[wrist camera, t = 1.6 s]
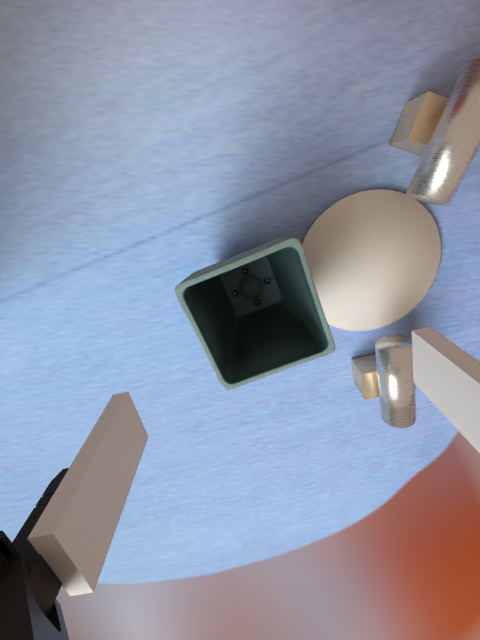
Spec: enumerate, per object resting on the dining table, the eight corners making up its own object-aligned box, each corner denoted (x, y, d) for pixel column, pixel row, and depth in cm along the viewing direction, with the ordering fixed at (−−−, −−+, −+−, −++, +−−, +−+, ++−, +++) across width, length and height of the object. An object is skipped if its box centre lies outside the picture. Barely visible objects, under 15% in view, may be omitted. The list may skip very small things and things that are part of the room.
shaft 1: (347, 329, 32) (371, 358, 26) (397, 317, 31) (433, 345, 26) (355, 393, 35) (378, 432, 29) (401, 384, 34) (434, 421, 29)
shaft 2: (423, 206, 27) (471, 210, 22) (370, 189, 27) (406, 189, 21) (473, 102, 25) (543, 76, 19) (415, 79, 24) (470, 46, 18)
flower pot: (280, 221, 28) (299, 234, 19) (309, 308, 31) (338, 352, 23) (189, 259, 29) (170, 287, 21) (227, 340, 32) (224, 392, 24)
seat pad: (267, 263, 29) (268, 264, 29) (386, 153, 26) (389, 153, 25) (351, 353, 33) (352, 355, 32) (464, 267, 29) (467, 268, 29)
